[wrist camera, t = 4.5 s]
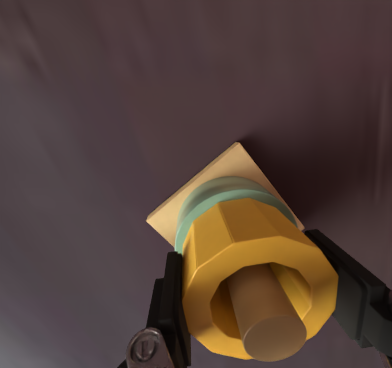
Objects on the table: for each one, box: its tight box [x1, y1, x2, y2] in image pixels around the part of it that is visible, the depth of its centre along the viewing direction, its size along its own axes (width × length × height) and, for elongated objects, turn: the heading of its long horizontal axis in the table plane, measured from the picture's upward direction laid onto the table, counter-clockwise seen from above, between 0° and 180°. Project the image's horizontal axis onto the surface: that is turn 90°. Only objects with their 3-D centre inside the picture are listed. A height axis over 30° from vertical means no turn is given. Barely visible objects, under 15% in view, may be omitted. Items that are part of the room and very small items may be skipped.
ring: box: [181, 198, 339, 359], centre depth 10 cm, size 7×7×4 cm
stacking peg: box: [147, 142, 307, 361], centre depth 12 cm, size 9×9×9 cm
